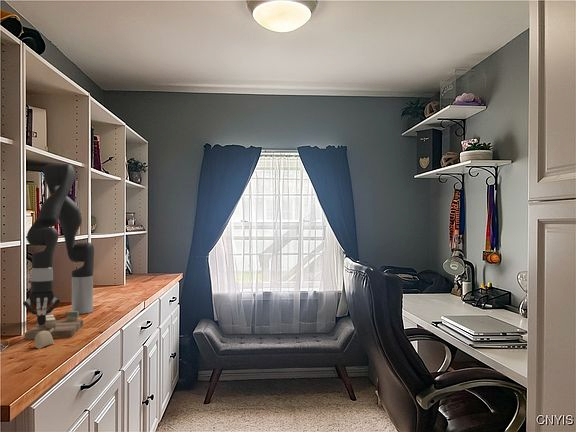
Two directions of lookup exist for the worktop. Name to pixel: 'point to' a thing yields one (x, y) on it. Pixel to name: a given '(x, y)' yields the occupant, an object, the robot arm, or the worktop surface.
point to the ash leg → (50, 321)
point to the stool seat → (59, 327)
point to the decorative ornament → (43, 339)
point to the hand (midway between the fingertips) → (41, 324)
